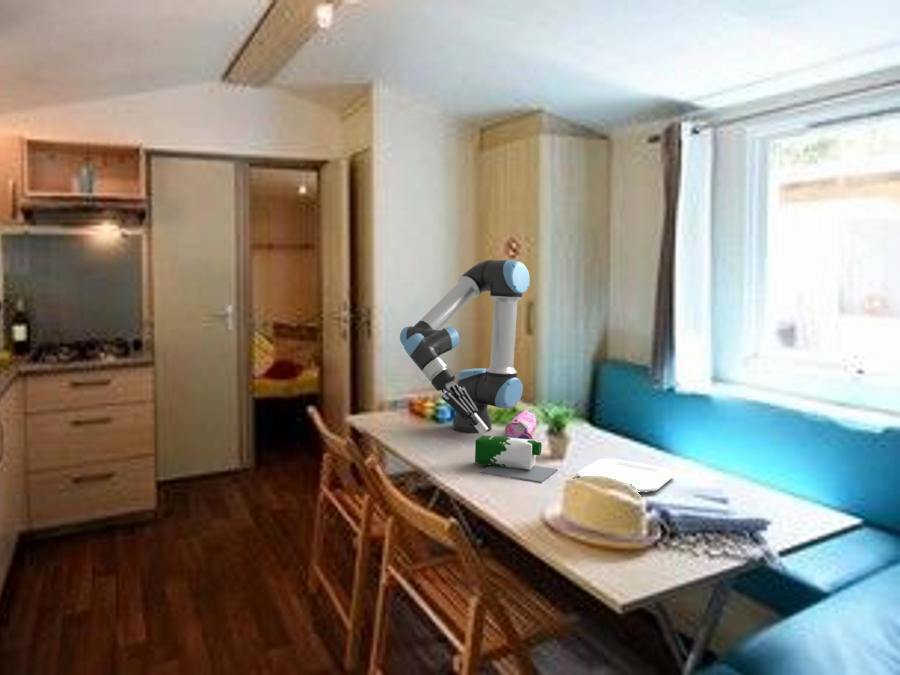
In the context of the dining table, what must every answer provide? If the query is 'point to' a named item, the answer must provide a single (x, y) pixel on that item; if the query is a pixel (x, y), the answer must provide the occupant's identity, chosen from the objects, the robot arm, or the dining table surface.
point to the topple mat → (521, 472)
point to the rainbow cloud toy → (525, 436)
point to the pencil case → (521, 424)
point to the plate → (629, 473)
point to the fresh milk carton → (507, 452)
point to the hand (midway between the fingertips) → (484, 431)
